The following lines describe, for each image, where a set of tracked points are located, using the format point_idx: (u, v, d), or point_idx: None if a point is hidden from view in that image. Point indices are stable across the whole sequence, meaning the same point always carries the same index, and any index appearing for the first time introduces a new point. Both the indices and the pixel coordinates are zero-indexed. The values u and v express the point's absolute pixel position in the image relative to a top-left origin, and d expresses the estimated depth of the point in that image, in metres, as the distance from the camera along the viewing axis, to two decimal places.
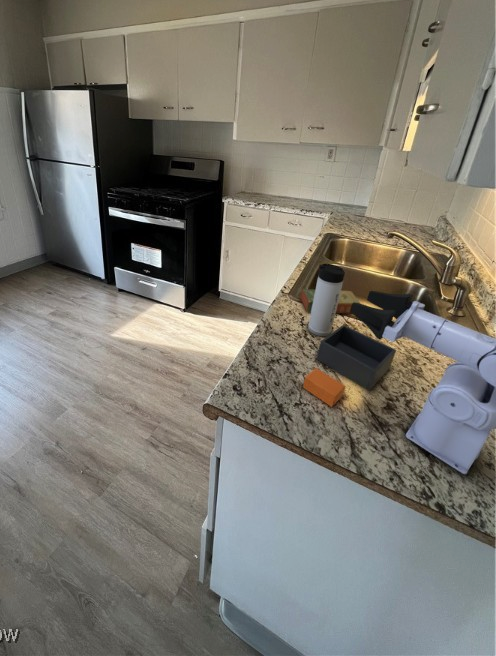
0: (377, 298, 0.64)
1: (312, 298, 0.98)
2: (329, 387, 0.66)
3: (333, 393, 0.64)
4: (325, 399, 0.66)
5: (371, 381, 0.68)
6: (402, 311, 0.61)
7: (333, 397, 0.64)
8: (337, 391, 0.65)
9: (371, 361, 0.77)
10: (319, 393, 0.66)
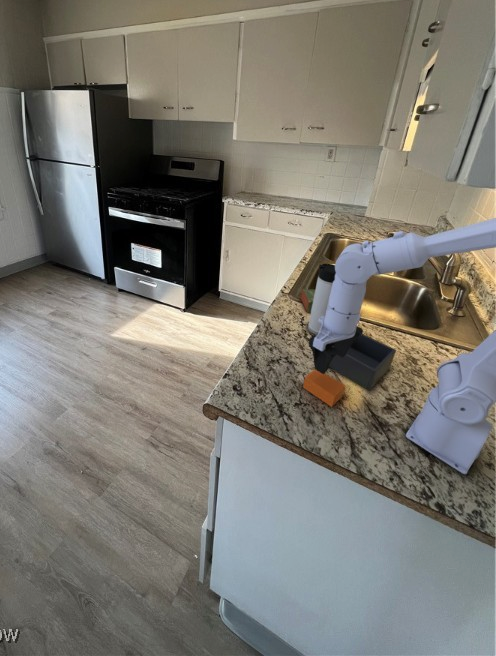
0: (340, 348, 0.67)
1: (312, 298, 0.98)
2: (329, 387, 0.66)
3: (333, 393, 0.64)
4: (325, 399, 0.66)
5: (371, 381, 0.68)
6: None
7: (333, 397, 0.64)
8: (337, 391, 0.65)
9: (371, 361, 0.77)
10: (319, 393, 0.66)
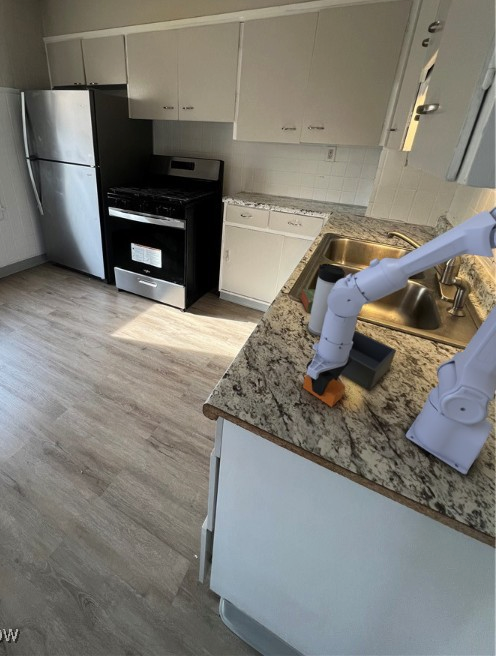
0: None
1: (312, 298, 0.98)
2: (329, 387, 0.66)
3: (333, 393, 0.64)
4: (325, 399, 0.66)
5: (371, 381, 0.68)
6: None
7: (333, 397, 0.64)
8: (337, 391, 0.65)
9: (371, 361, 0.77)
10: None
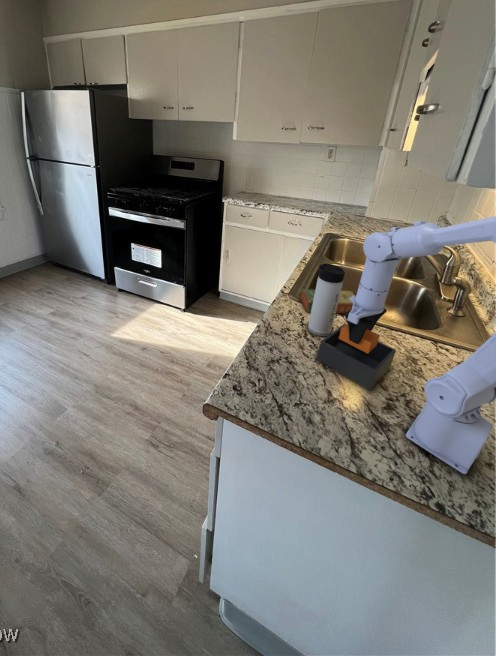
0: None
1: (312, 298, 0.98)
2: (365, 336, 0.71)
3: (369, 340, 0.69)
4: (362, 347, 0.71)
5: (371, 381, 0.68)
6: None
7: (370, 344, 0.69)
8: (373, 338, 0.70)
9: (371, 361, 0.77)
10: None
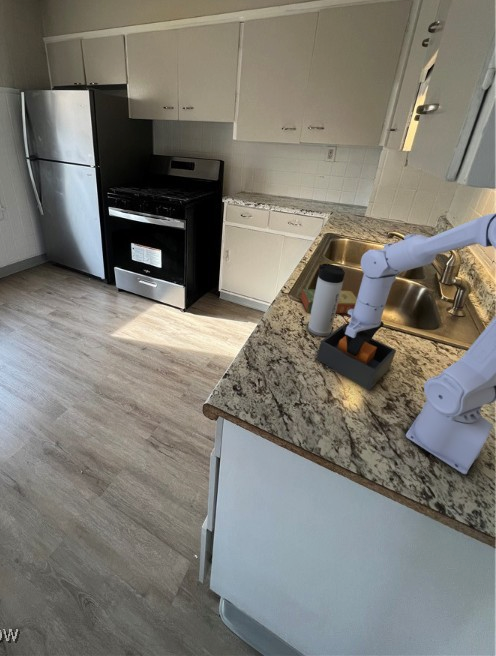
0: None
1: (312, 298, 0.98)
2: (362, 348, 0.73)
3: (367, 353, 0.71)
4: (359, 359, 0.73)
5: (371, 381, 0.68)
6: None
7: (367, 356, 0.71)
8: (370, 351, 0.72)
9: (371, 361, 0.77)
10: None
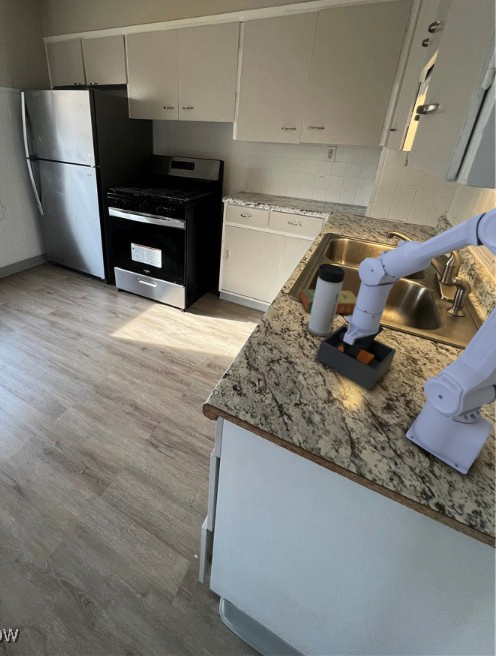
0: None
1: (312, 298, 0.98)
2: (360, 356, 0.74)
3: (364, 361, 0.73)
4: None
5: (371, 381, 0.68)
6: None
7: None
8: (368, 359, 0.73)
9: None
10: None
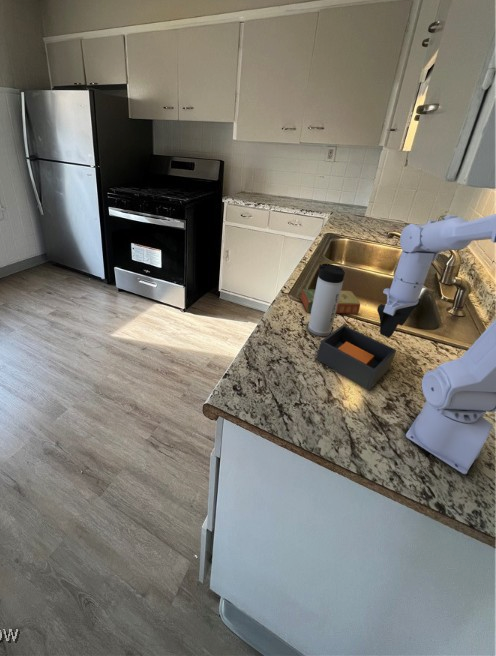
0: None
1: (312, 298, 0.98)
2: (360, 356, 0.74)
3: (364, 361, 0.73)
4: None
5: (371, 381, 0.68)
6: None
7: None
8: (368, 359, 0.73)
9: None
10: None
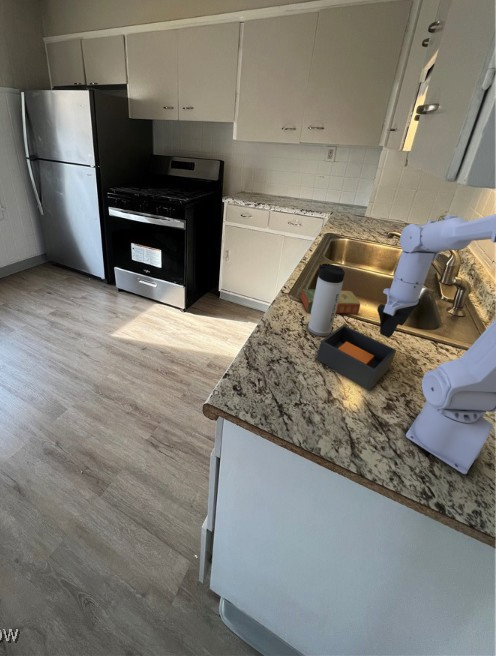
0: None
1: (312, 298, 0.98)
2: (360, 356, 0.74)
3: (364, 361, 0.73)
4: None
5: (371, 381, 0.68)
6: None
7: None
8: (368, 359, 0.73)
9: None
10: None
